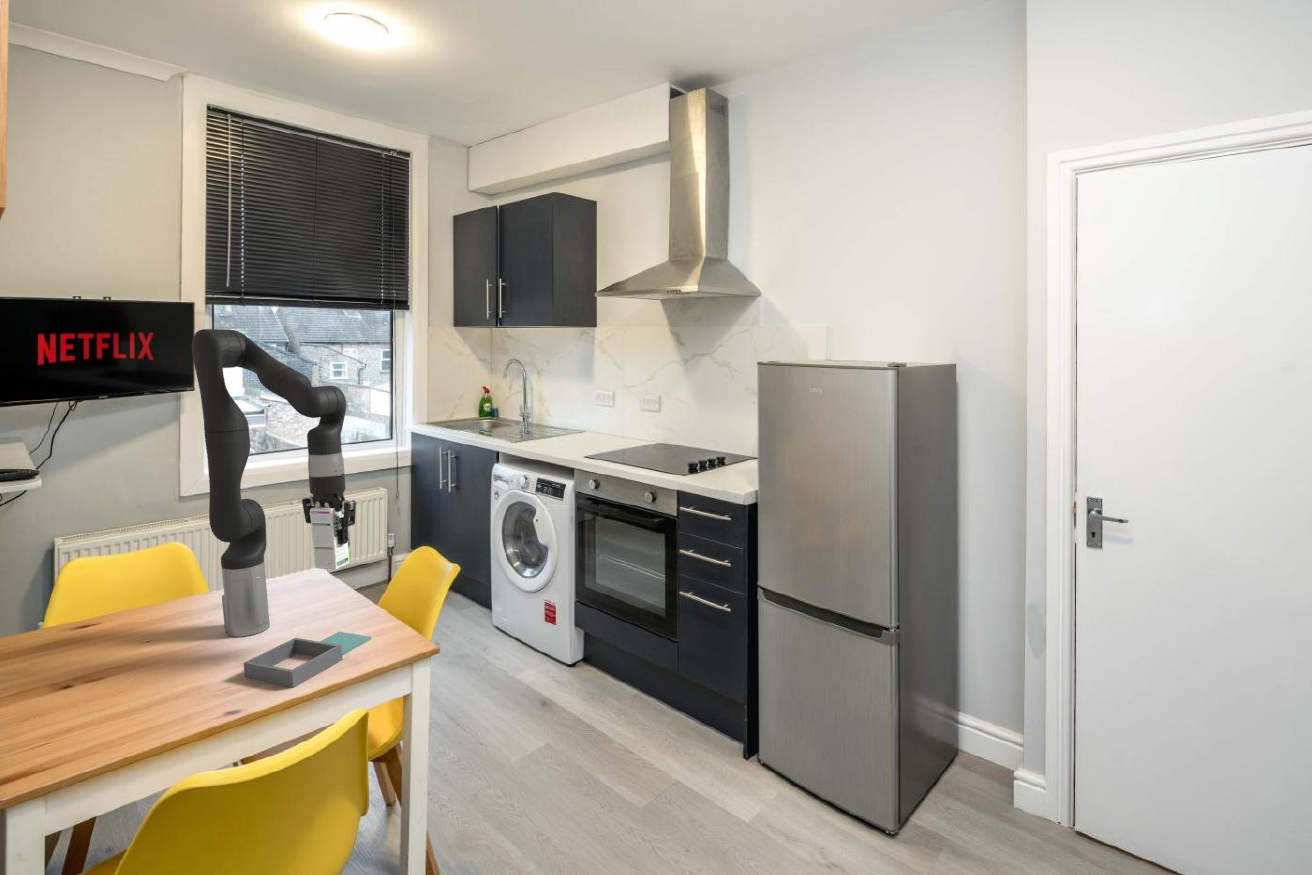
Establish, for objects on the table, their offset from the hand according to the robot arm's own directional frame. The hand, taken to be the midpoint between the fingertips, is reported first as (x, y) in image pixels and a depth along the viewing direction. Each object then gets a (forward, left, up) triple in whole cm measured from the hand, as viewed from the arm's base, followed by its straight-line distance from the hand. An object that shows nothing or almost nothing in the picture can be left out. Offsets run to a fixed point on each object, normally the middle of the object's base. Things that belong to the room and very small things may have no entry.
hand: (331, 542), depth 161 cm
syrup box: (0, 0, -6) cm, 6 cm away
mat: (0, 0, -25) cm, 25 cm away
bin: (0, -13, -25) cm, 28 cm away
